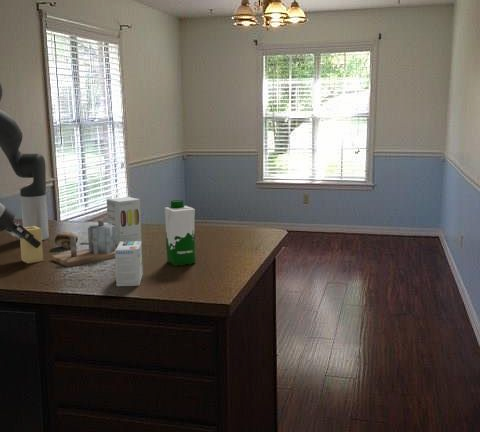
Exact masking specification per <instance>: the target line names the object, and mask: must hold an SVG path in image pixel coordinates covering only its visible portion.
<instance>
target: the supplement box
mask: <svg viewBox="0 0 480 432" xmlns="http://www.w3.org/2000/svg"><path fill="white" fill-rule="evenodd" d="M106 214H107V215H106V217H107V223H109V224H112V225H114V229H115V246H116V247H117V246H118V244H119V242H128V241H141V242H142V222H141V221H142V220H141V219H142V218H141V216H142V215H141V199H140V198H136V197H135V198H134V197H131V196H130V197H129V196H125V197H116V198H114V197H113V198H107V199H106Z"/></svg>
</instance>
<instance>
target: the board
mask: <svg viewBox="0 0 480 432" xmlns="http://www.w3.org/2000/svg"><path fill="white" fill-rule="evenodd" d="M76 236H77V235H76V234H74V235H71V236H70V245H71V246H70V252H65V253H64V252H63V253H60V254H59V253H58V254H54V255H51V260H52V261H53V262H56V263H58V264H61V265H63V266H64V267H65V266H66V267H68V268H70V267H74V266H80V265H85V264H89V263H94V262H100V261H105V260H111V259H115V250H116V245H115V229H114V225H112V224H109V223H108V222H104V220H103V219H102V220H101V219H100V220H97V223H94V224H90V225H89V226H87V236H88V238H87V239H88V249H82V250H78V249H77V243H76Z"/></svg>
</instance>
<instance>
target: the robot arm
mask: <svg viewBox="0 0 480 432" xmlns="http://www.w3.org/2000/svg"><path fill="white" fill-rule="evenodd" d="M2 98H3V87H2V83H1V82H0V102H1V101H2ZM22 142H23V132H22V130H21V128H20V127H19V125H18V122H17V121H16V120H15V119H14V118H13V117H12V116H11V115H10V114H9V113H7V112H5V111H4V110H2V109H1V108H0V149H1V150H2V152H3V153H4V155H5V157H6V159H7V160H8V162H9V164H10V166H11V168H12V170H13V172H14V174H15V175H16V176H18V177H19V178H23V179H26V178H27V179H31V178H32V179H33V180H32V183H30V184H29V185H27V186H24V187H22V188H20V189H19V191H20V193H19V194H20V205H21V206H20V207H21V220H22V225H21V224H20V223H19V222H15V221H14V220H15V218H16V214H15V213H14V212H13V211H12V210H11V209H9V208H8V207H7V206H5V205H4V204H3V203H1V202H0V232H1V233H2V232H4V231H6V232H7V234H10V236H12V237H14V238H17V239H18V240H20V239H24V240H25V241H26V242H29V243H30V244H31V245H32V246H34V247H35V248H38V247H39V246H40V245H41V243H40V242H39V241H38V240H37V239H35V238H34V235H33V234H31V233H30V232H28V231H27V230H26V229H25V227H32V226H36V227H39V228H41V235H42V241H44V240H48V239H49V237H50V236H49V235H50V234H49V233H50V232H49V220H48V218H49V217H48V207H47V205H48V204H47V191H46V189H47V188H46V187H47V181H46V178H47V177H46V173H47V172H46V171H47V169H46V162H45V161H46V160H45V157H44V155H42V154H41V153H23V152H21V151H20V150H19V149H20V147H21V144H22ZM26 234H28V235H29V236H28V238H26V237H25V235H26Z"/></svg>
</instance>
